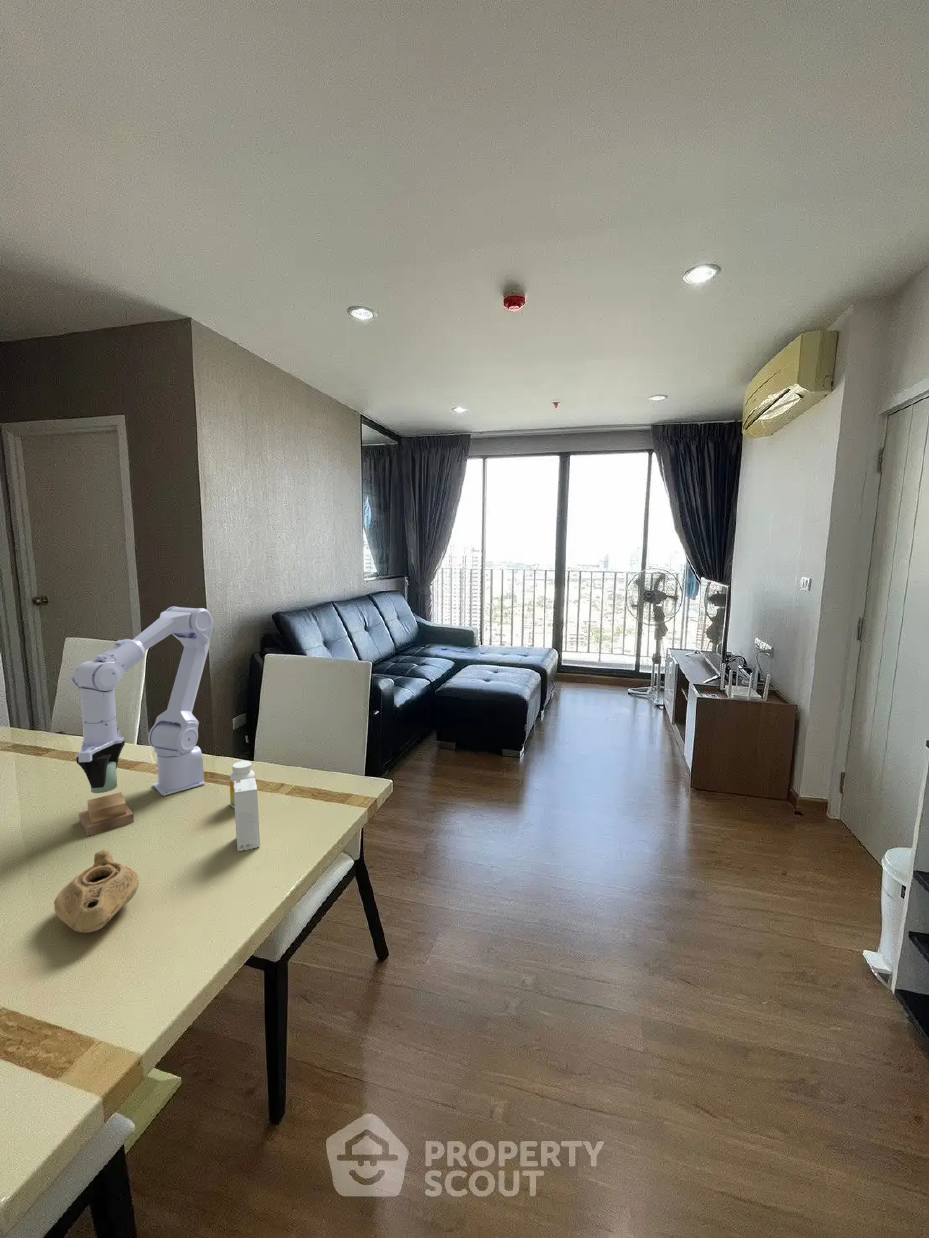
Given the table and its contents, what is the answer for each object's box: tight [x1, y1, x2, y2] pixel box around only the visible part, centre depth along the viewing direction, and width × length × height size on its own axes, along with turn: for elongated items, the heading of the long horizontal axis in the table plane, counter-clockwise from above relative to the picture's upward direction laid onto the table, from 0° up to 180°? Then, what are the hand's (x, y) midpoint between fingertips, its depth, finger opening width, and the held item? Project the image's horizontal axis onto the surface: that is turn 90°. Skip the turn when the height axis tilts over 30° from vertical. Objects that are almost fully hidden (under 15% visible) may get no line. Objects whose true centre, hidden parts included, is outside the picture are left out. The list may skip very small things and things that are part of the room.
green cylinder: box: [90, 761, 118, 794], centre depth 107 cm, size 4×4×5 cm
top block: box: [87, 792, 127, 823], centre depth 108 cm, size 6×6×2 cm
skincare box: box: [234, 777, 261, 852], centre depth 101 cm, size 6×4×12 cm
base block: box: [78, 804, 135, 837], centre depth 108 cm, size 8×8×2 cm
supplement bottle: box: [229, 760, 256, 809], centre depth 117 cm, size 5×5×10 cm
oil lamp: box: [53, 848, 140, 933], centre depth 80 cm, size 11×15×8 cm
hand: (103, 781), depth 107 cm, fingers closed on green cylinder, 4 cm apart
